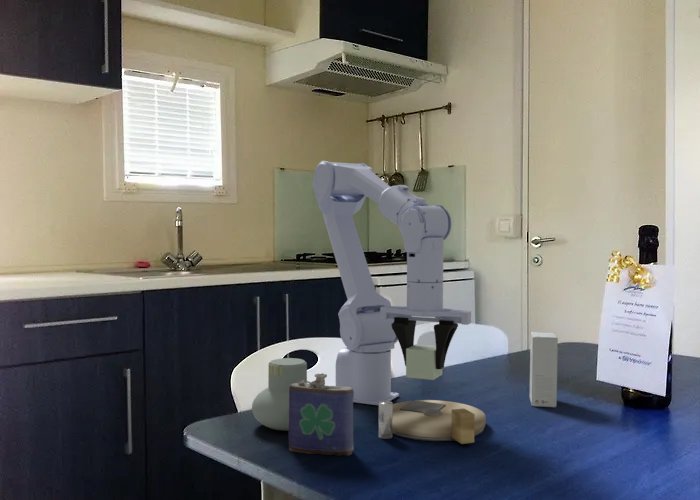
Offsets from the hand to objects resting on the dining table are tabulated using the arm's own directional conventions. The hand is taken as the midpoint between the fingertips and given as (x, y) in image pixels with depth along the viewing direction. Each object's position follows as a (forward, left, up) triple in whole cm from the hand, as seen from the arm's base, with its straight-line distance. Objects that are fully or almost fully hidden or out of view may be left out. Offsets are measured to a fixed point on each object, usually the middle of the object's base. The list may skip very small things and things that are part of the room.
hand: (424, 366), depth 106 cm
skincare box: (+15, +18, -9) cm, 25 cm away
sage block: (0, 0, -2) cm, 2 cm away
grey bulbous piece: (-18, -13, -9) cm, 23 cm away
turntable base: (+2, -3, -8) cm, 9 cm away
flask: (-8, -21, -9) cm, 24 cm away
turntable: (+2, -3, -8) cm, 9 cm away
